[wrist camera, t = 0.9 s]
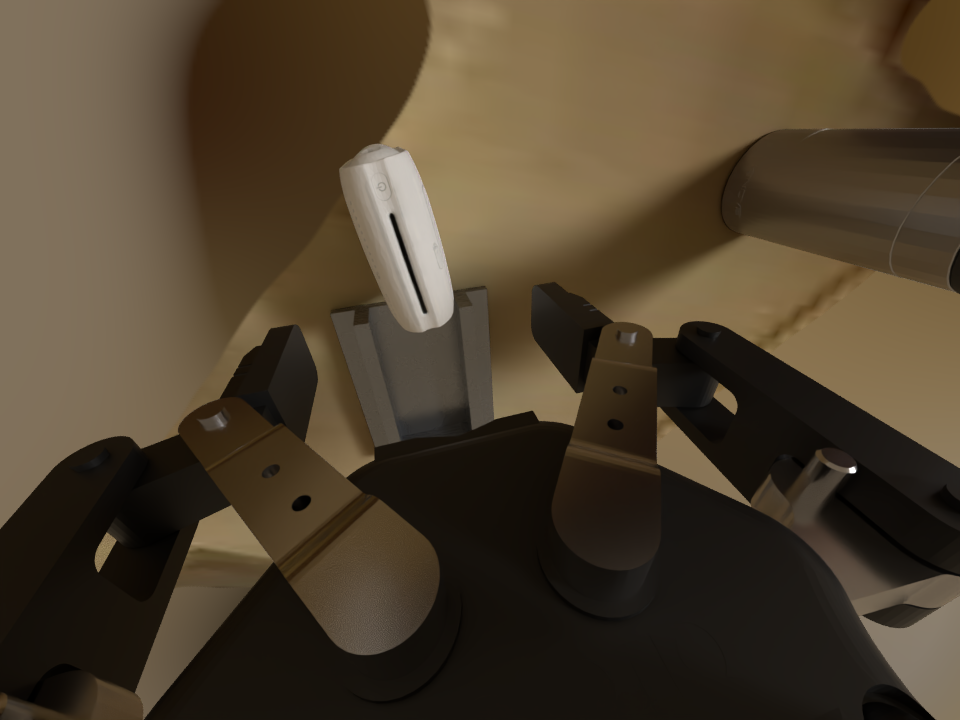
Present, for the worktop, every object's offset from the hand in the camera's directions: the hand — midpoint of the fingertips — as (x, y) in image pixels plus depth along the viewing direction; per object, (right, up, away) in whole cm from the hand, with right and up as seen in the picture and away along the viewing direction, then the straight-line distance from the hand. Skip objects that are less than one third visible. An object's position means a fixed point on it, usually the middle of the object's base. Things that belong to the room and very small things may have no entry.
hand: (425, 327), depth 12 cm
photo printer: (-5, +10, +16) cm, 20 cm away
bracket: (-4, -3, +25) cm, 25 cm away
